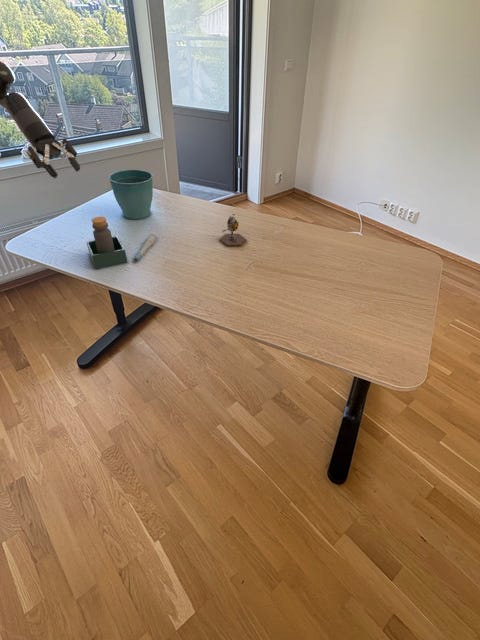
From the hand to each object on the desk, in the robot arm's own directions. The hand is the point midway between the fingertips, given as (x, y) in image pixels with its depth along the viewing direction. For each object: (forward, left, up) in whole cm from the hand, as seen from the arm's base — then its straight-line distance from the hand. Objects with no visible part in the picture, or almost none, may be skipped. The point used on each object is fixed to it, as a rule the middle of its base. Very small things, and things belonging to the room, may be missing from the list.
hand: (67, 173), depth 113 cm
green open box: (+5, -9, -29) cm, 31 cm away
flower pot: (+25, +25, -29) cm, 46 cm away
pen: (+20, -8, -29) cm, 36 cm away
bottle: (+5, -9, -28) cm, 30 cm away
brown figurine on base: (+54, -15, -29) cm, 63 cm away
